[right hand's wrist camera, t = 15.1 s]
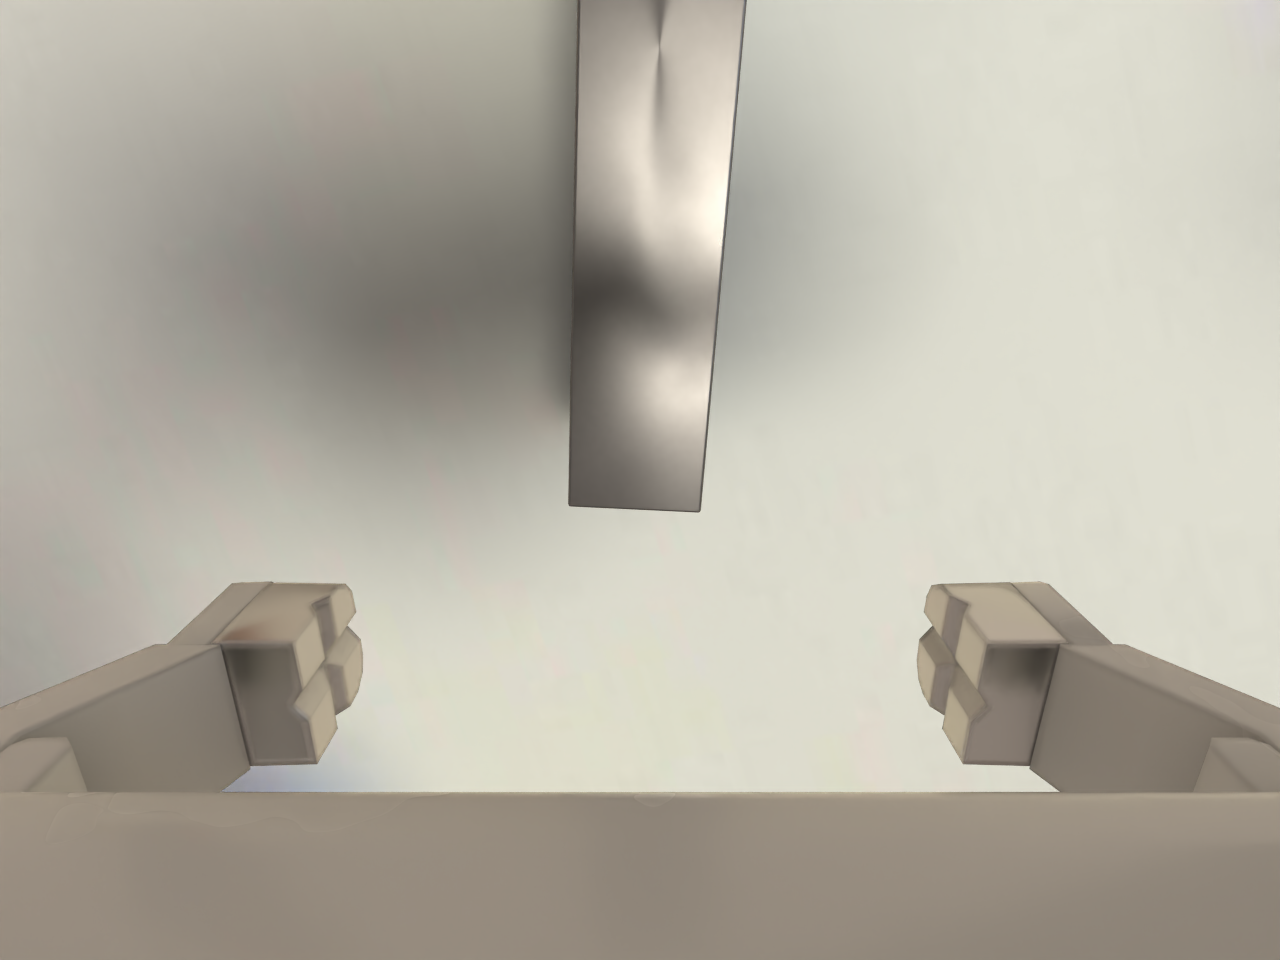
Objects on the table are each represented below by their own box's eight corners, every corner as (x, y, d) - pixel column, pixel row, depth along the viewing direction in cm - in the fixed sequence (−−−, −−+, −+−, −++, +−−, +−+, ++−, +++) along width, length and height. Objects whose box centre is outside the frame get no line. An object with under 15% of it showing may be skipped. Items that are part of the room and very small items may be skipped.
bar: (684, 429, 33) (700, 513, 24) (586, 424, 33) (567, 507, 24) (746, -373, 23) (811, -718, 15) (608, -383, 23) (590, -735, 14)
